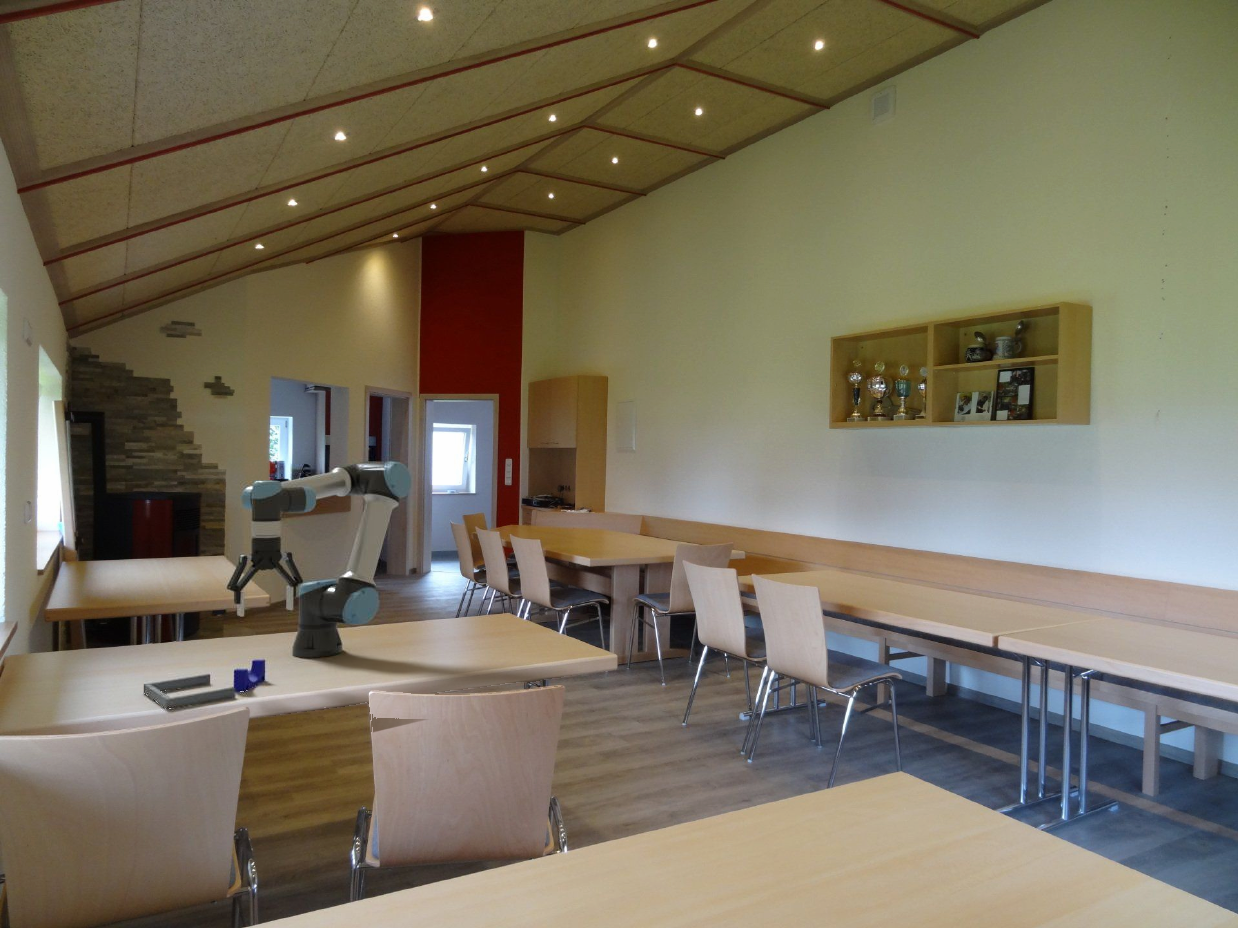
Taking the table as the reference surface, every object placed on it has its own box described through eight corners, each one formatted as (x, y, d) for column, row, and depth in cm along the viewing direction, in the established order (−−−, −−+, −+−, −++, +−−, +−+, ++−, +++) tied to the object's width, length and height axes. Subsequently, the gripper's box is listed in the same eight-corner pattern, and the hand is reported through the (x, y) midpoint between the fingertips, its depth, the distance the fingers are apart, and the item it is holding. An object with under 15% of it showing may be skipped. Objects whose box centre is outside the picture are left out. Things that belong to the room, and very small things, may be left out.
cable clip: (248, 680, 229) (249, 659, 229) (264, 681, 228) (265, 659, 228) (227, 692, 217) (228, 669, 217) (244, 692, 216) (245, 670, 216)
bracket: (208, 682, 225) (208, 673, 225) (234, 697, 211) (235, 687, 211) (143, 693, 214) (143, 684, 214) (166, 709, 200) (167, 699, 200)
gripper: (303, 532, 239) (302, 605, 239) (214, 538, 221) (213, 616, 221) (315, 534, 234) (314, 608, 234) (225, 540, 216) (224, 620, 216)
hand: (265, 612), depth 227 cm, fingers open, 13 cm apart
